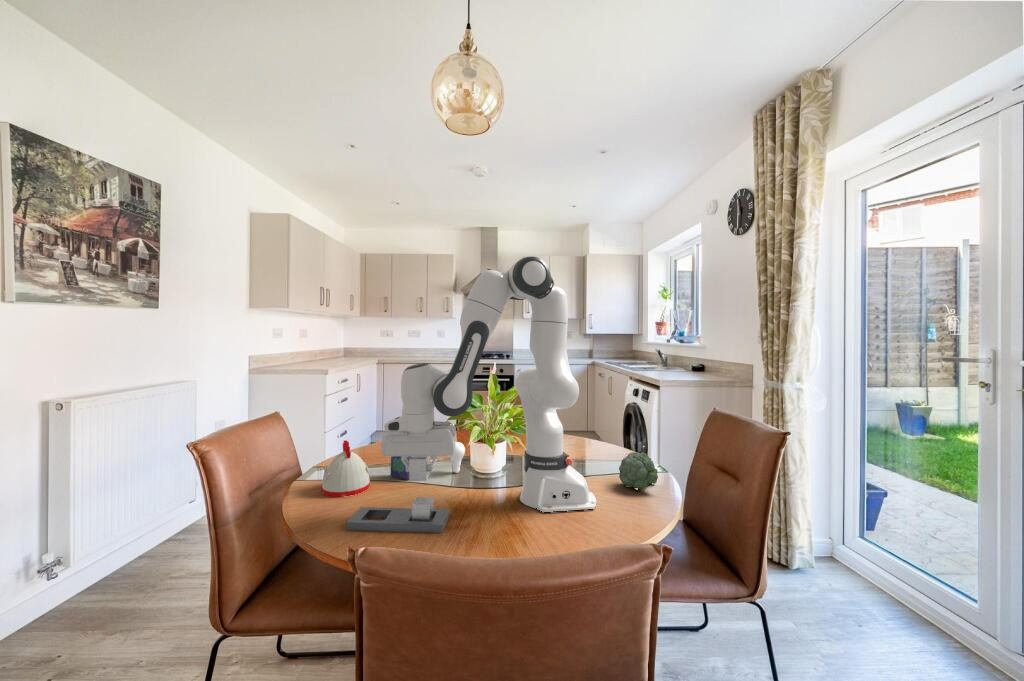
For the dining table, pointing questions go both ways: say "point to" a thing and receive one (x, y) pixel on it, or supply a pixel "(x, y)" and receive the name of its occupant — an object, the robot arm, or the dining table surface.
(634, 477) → the vegetable
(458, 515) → the dining table surface
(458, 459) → the lightbulb
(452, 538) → the dining table surface
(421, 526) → the grey slotted board
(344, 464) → the chicken hat
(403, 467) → the flask
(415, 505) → the light gray block
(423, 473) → the grey rectangular block
